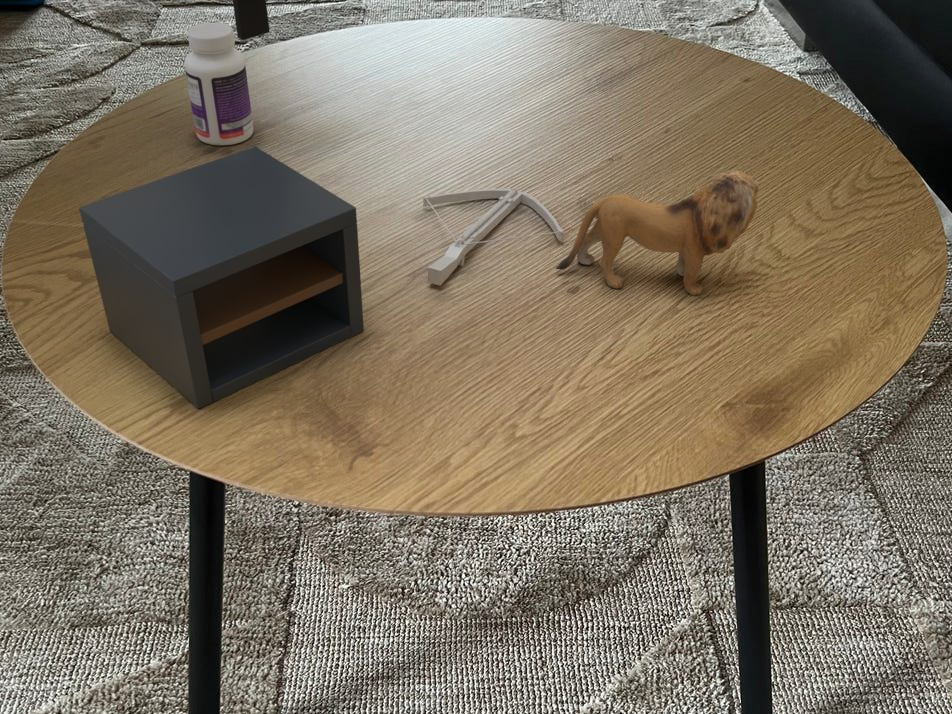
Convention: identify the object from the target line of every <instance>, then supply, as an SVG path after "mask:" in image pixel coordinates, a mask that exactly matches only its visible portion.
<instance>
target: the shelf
mask: <svg viewBox="0 0 952 714" xmlns="http://www.w3.org/2000/svg"><path fill="white" fill-rule="evenodd" d="M78 210H79V214H80V218H81V222H82V227H83V231H84V234H85V237H86V242H87V245H88V250H89V253H90V258H91V261H92V265H93V269H94V270H93V271H94V275H95V277H96V282H97V285H98V290H99V294H100V298H101V301H102V305H103V309H104V313H105V317H106V321H107V325H108V330H109V332H110V333H111V334H112V335H114V337H116V338H117V339H118V340H119V341H120V342H122V343H123V344H124V346H126V347H127V348H128V349H129V350H130V351H132V352H133V353H134V354H135V355H136V356H137V357H139V358H140V359H141V360H142V361H143V362H144V363H145V364H146V365H148V366H149V368H151V369H152V370H153V371H155V372H156V373H157V374H158V375H159V376H160V377H161V378H162V379H163V380H165V382H167V383H168V384H170V386H172V388H173V389H175V390H176V391H177V392H178V393H179V394H180V395H182V396H183V397H184V398H185V399H186V400H187V401H189V402H190V403H191V404H192V405H193V406H194V407H195V408H196V409H198V410H200V409H202V408H204V407H206V406H209V405H210V404H212V403H215V402H217V401H219V400H221V399H223V398H225V397H228V396H230V395H232V394H234V393H236V392H238V391H240V390H242V389H245V388H246V387H249V386H251V385H253V384H255V383H257V382H259V381H261V380H263V379H266V378H267V377H269V376H272V375H274V374H276V373H278V372H280V371H282V370H284V369H286V368H289V367H290V366H294V365H295V364H296V363H299V362H301V361H304V360H305V359H308V358H310V357H311V356H313V355H316V354H317V353H320V352H322V351H324V350H326V349H328V348H330V347H332V346H335V345H337V344H339V343H341V342H343V341H345V340H347V339H349V338H351V337H354V336H355V335H358V334H361V333H362V332H364V331H365V329H364V328H365V327H364V314H363V313H364V312H363V298H362V297H363V296H362V295H363V294H362V281H361V280H362V279H361V265H360V264H361V263H360V251H359V250H360V248H359V231H358V230H359V229H358V218H357V208H356V207H355V206H354V205H352V204H351V203H349V202H347V201H346V200H344V199H343V198H341V197H339V196H338V195H336V194H334V193H333V192H331V191H329V190H328V189H326V188H325V187H323V186H321V185H320V184H318V183H316V182H315V181H313V180H312V179H310V178H309V177H306V176H305V175H303V174H301V173H300V172H298V171H297V170H295V169H294V168H292V167H290V166H288V165H287V164H285V163H284V162H282V161H280V160H279V159H277V158H276V157H274V156H272V155H271V154H269V153H267V152H266V151H264V150H262V149H260V148H259V147H257V146H251V147H248V148H246V149H243V150H240V151H238V152H234V153H231V154H229V155H225V156H223V157H220V158H217V159H214V160H211V161H209V162H206V163H203V164H200V165H196V166H194V167H191V168H187V169H185V170H183V171H180V172H176V173H173V174H170V175H168V176H165V177H161V178H159V179H156V180H154V181H150V182H147V183H144V184H142V185H139V186H137V187H133V188H129V189H127V190H125V191H122V192H118V193H116V194H113V195H110V196H107V197H104V198H101V199H99V200H95V201H92V202H89V203H87V204H84V205H81V206H79V207H78Z"/></svg>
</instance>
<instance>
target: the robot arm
mask: <svg viewBox="0 0 952 714" xmlns="http://www.w3.org/2000/svg"><path fill="white" fill-rule="evenodd" d="M232 6H233V13H234V21H235V27H236V34H237V38H238V39H240V40H241V41H245V40H249V39H252V38H255V37H259V36H262V35H265V34H269V33H271V32H270V22H269V13H268V6H267V0H232Z"/></svg>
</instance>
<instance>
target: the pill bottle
mask: <svg viewBox="0 0 952 714" xmlns="http://www.w3.org/2000/svg"><path fill="white" fill-rule="evenodd" d="M187 40H188V45H189V49H190V52H189V53H187V55H186V57H185V59H184V62H183V63H184V72H185V78H186V83H187V84H186V85H187V90H188V95H189V102H190V107H191V112H192V113H191V114H192V119H193V125H194V130H195V134H196V137H197V138H198V139H199V140H200V141H201V142H202V143H205V144H207V145H211V146H231V145H236V144H240V143H243V142H245V141H247V140H249V139H250V137H252V135H253V133H254V130H255V129H254V120H253V119H254V118H253V114H252V113H253V111H252V106H251V99H250V98H251V97H250V91H249V84H248V76H247V74H248V73H247V66H246V62H245V61H246V60H245V57H244V55H243V54H242V53H241V52H240V51H239V50H238V49H235V48H234V47H235V45H236V40H235V34H234V29H233V27H232V26H231V25H230V24H228V23H223V22H213V21H212V22H209V21H208V22H202V23H198V24H195V25H192V26H191V27H189V28H188V29H187Z"/></svg>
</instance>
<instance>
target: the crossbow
mask: <svg viewBox="0 0 952 714" xmlns="http://www.w3.org/2000/svg"><path fill="white" fill-rule="evenodd" d="M422 198H423V199H422V202H423V203H422V206H423V207H430V208H431V209H432V211H433V212H434V213H435V215H436V217H438V219H439V220H440V222H441V223H442V225H443V226H444V227H445V229H446V230H447V232H448V233H449V235H450V236H451V238H452V240H454V242H452V244H450V245H449V247H448V249H447V250H446V252H445V253H444V255H443V256H442V257H440V258H438V259H437V260H436V261H435V262H433V263H432V264H430V265H429V266H427V283H428V284H429V283H430V284H432V285H437V286H442V285H443V283H444V282H445V281H446V280H447V279H448V278H449V277H450V276H451V275H452V273H453V272H454V271H455V270H456V269H457V267H458V266H460V267H464V264H465V258H466V257H465V256H466V255H467V254H468V253H469V252H470V251H471V250H472V249H473V248H474V247H476V245H478V244H483V243H490V242H498V241H499V242H500V241H506V240H513V239H520V238H521V239H523V238H530V237H537V236H545V235H552V234H554V235H555V236H556V238H557V240H558V241H559V242H562V241H563V240H564V233H565V230H564V229H563V228H561V226H560V225H559V222H557V220H556V218H555V217H554V216H553V214H552V213H551V212H550V211H549V209H548V208H547V207H546V206H545V205H544V204H543V203H541V201H539V200H538V199H537V198H536V197H534V196H532V195H530V194H529V193H528V192H526V191H520V190H517V189H516V188H509V187H508V188H497V187H495V188H479V189H470V190H462V191H461V190H460V191H454V192H452V191H451V192H447V193H441V194H434V195H425V196H424V197H422ZM486 199H498V201H497V202H496V203H495V204H494V205H493V206H492V207H491V208H490V209H489V210H488V211H486V212H485V213H484V214H483V215H482V216H481V217H480V218H479V219H478V220H477V221H476V222H475V223H473V224H472V225H471V226H470V227H469V228H468V229H466V230H465V231H463V232H462V233H461V235H460V236H458V238H457V239H456V238H455V237H454V235H453V234H452V232H451V231H450V230H449V228H448V227H447V225H446V223H445V222H444V221H443V220H442V218H441V216H440V215H439V213H438V212H437V211H436V209H435V207H433V206H437V205H442V204H449V203H456V202H464V201H473V200H486ZM520 204H523V205H526V206H527V207H530V208H531V209H533V210H534V211H535V212H536V213H537V214H538V215H539V216H540V217H541V218H542V219H543V220H544V221H545V222H546V224H548V226H549V227H550V228H551V230H552V232H543V233H537V234H536V233H535V234H530V235H522V236H515V237H513V236H512V237H506V238H497V239H489V240H483V239H484V238H485V237H486V236H487V235H488V234H489V233H490V232H491V231H492V230H493V229H494V228H496V226H498V224H499V223H501V221H503V220H504V218H506V217H507V216H508V215H509V214H510V213H511V212H512V211H514V210H515V209H516V208H517V206H519V205H520ZM482 240H483V241H482Z"/></svg>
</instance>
